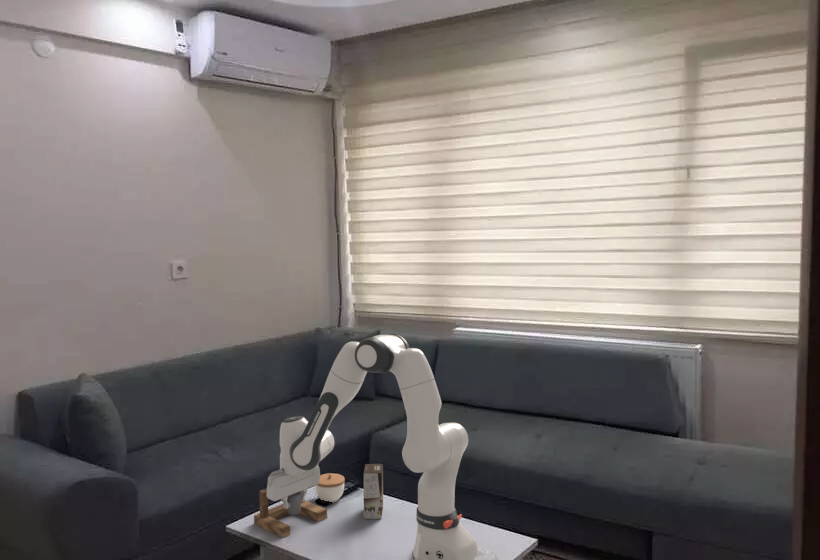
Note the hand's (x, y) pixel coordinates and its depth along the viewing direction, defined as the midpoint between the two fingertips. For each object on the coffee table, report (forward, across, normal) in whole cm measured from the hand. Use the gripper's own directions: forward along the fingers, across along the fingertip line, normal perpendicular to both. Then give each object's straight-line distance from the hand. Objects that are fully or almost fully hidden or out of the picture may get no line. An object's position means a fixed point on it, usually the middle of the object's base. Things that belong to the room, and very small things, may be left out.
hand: (294, 504), depth 229 cm
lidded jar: (+7, +21, +5) cm, 23 cm away
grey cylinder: (+2, 0, 0) cm, 2 cm away
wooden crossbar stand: (+6, 0, +2) cm, 7 cm away
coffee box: (+7, +23, -15) cm, 28 cm away
